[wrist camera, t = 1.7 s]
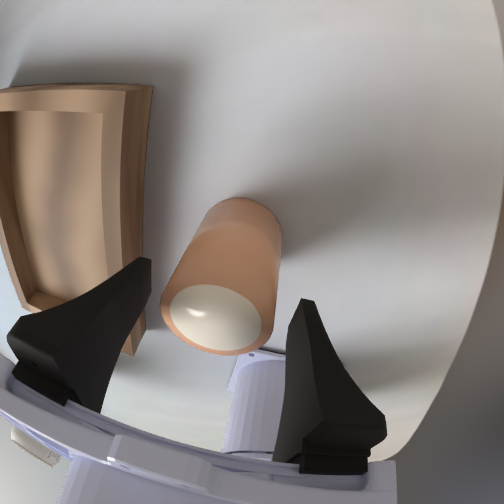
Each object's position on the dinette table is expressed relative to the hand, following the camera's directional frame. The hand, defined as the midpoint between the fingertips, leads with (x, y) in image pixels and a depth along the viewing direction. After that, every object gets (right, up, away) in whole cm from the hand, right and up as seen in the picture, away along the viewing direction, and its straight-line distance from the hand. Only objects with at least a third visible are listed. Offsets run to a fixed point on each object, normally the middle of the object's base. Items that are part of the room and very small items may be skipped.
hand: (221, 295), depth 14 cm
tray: (-12, +5, +5) cm, 14 cm away
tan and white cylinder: (+1, +3, +4) cm, 6 cm away
